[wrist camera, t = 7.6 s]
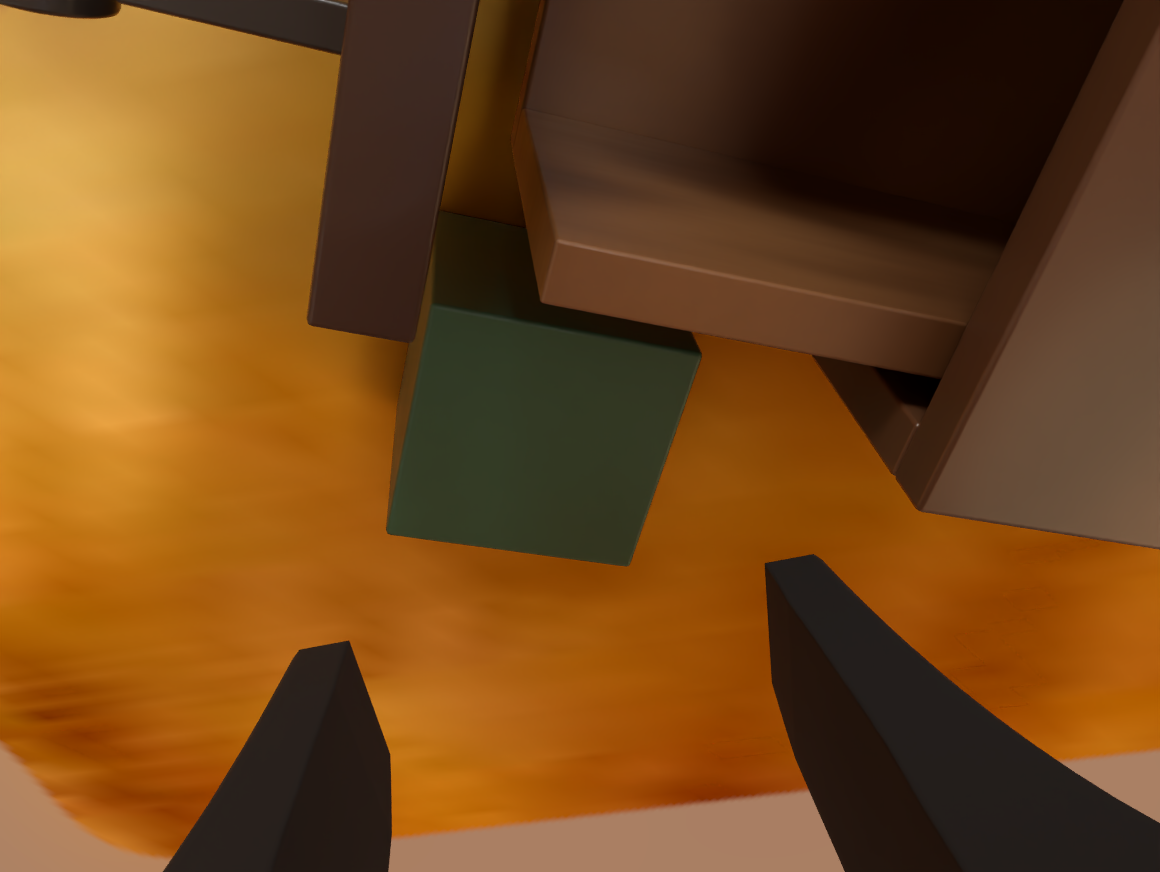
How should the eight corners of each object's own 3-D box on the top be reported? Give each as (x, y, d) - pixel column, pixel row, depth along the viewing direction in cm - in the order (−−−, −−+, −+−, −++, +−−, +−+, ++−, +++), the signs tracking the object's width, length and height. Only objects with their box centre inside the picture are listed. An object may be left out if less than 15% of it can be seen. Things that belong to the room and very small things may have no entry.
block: (434, 207, 19) (430, 302, 15) (656, 254, 20) (704, 354, 16) (396, 409, 21) (385, 536, 17) (599, 441, 22) (629, 568, 18)
